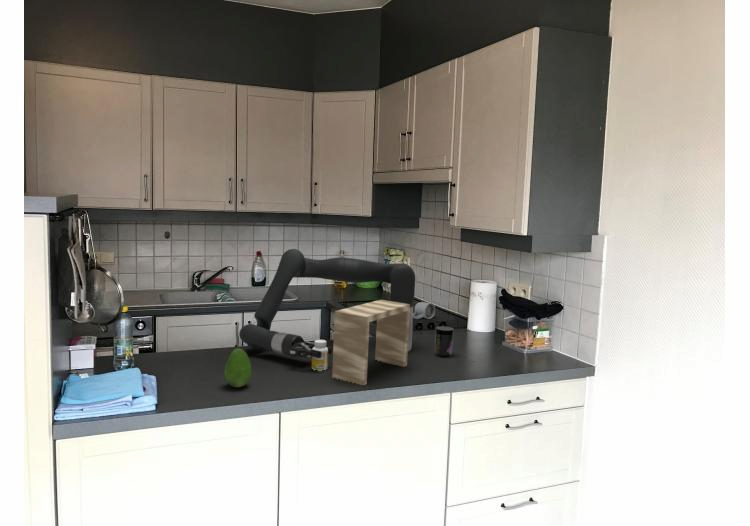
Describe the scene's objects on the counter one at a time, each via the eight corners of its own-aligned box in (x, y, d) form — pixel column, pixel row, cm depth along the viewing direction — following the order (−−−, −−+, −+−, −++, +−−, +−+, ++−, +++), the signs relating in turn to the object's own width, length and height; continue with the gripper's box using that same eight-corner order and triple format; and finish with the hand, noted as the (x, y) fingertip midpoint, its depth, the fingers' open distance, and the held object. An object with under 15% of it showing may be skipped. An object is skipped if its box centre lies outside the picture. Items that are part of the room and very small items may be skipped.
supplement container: (445, 358, 220) (447, 331, 219) (430, 355, 225) (432, 328, 223) (455, 355, 226) (457, 328, 224) (440, 351, 230) (442, 325, 228)
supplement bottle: (319, 365, 205) (320, 338, 204) (330, 369, 202) (331, 341, 200) (308, 368, 201) (309, 340, 200) (319, 372, 197) (320, 344, 196)
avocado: (241, 392, 175) (242, 353, 174) (219, 388, 178) (219, 349, 176) (256, 384, 182) (257, 346, 181) (234, 380, 185) (235, 343, 184)
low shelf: (378, 359, 216) (380, 299, 213) (406, 365, 209) (410, 304, 207) (332, 378, 192) (334, 311, 190) (363, 385, 186) (366, 316, 183)
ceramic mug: (422, 314, 297) (423, 299, 296) (435, 317, 291) (435, 302, 290) (408, 317, 290) (408, 302, 289) (420, 320, 284) (421, 305, 283)
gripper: (273, 337, 201) (313, 346, 193) (301, 330, 214) (339, 338, 205) (273, 359, 202) (312, 368, 193) (300, 350, 214) (338, 359, 206)
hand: (326, 353), depth 199 cm, fingers closed on supplement bottle, 5 cm apart
